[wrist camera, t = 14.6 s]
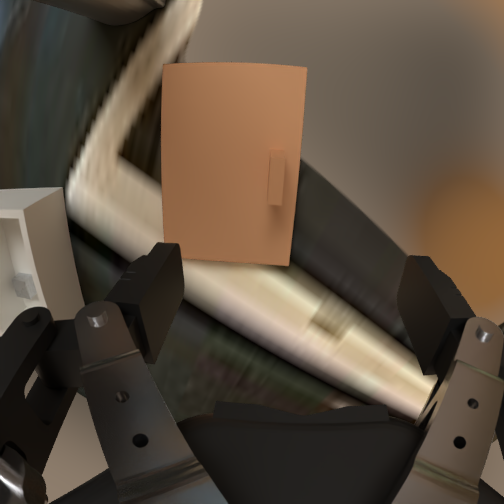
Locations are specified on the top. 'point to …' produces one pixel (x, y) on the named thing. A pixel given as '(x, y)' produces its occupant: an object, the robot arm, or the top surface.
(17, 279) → the steel block
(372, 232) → the top surface
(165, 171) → the snap lid
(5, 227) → the parts tub
